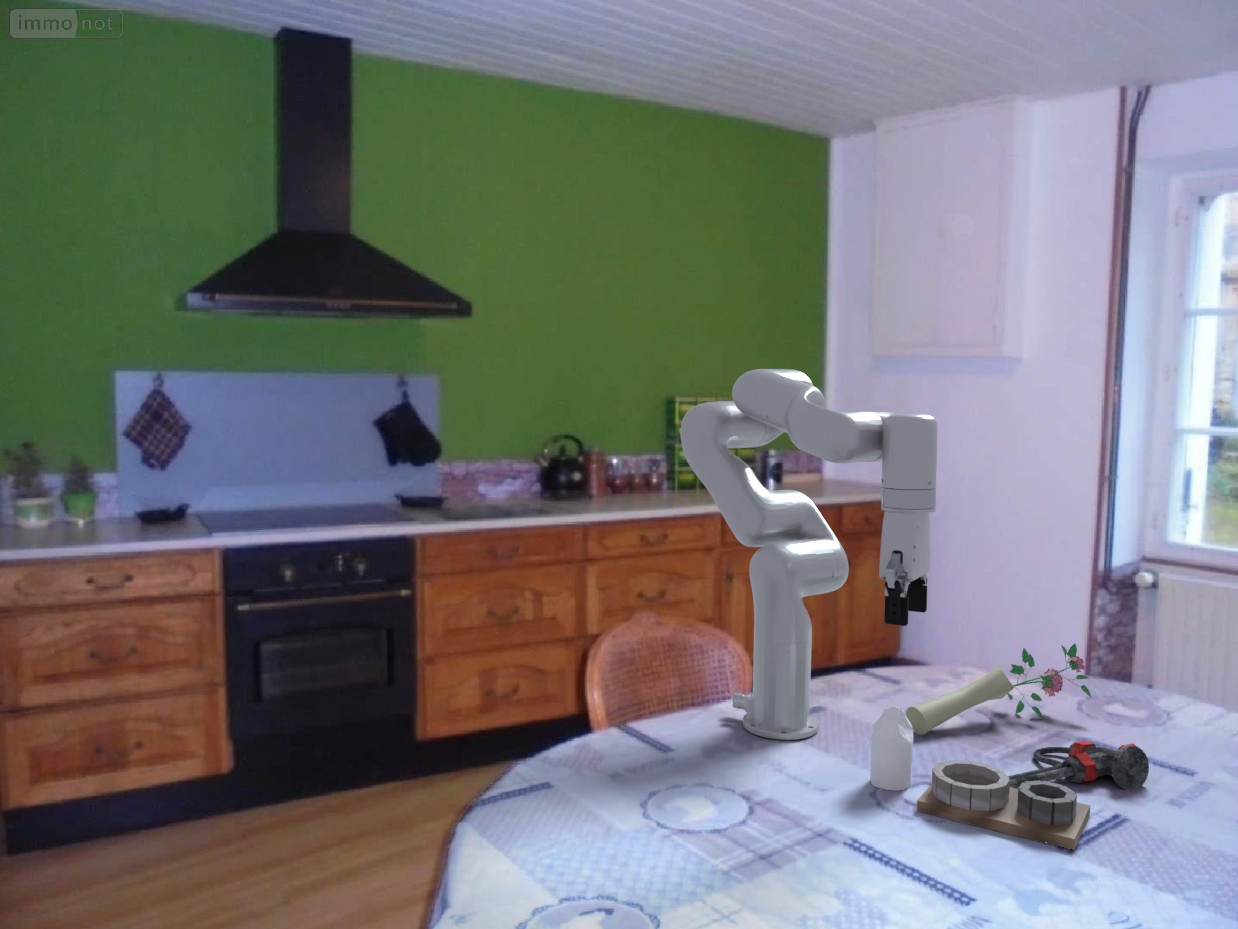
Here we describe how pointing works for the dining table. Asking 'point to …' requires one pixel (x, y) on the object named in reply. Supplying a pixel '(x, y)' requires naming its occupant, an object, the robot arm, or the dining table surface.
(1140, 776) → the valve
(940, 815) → the fitting board
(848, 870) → the dining table surface
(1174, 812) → the dining table surface
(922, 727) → the flower vase
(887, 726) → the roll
